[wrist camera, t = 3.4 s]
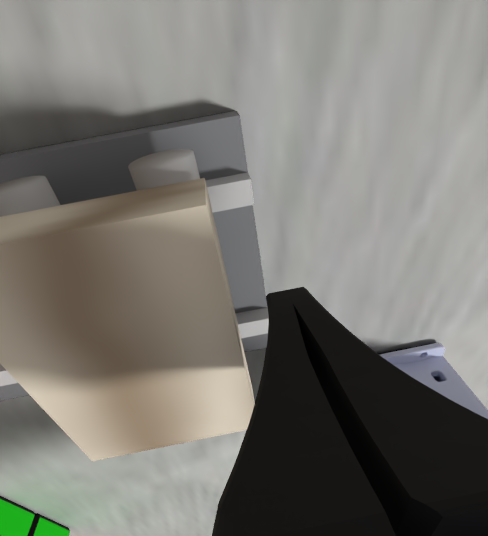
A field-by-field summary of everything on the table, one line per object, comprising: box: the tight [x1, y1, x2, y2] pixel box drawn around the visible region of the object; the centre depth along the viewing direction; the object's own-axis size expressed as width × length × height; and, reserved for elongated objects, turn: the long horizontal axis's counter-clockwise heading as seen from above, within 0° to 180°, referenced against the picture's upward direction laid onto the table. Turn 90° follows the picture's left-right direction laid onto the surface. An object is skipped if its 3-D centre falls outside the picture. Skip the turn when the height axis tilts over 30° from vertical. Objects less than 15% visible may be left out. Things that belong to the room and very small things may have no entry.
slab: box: [0, 149, 255, 461], centre depth 12 cm, size 7×11×4 cm, turn 8°
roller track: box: [0, 111, 269, 401], centre depth 12 cm, size 20×12×6 cm, turn 98°
